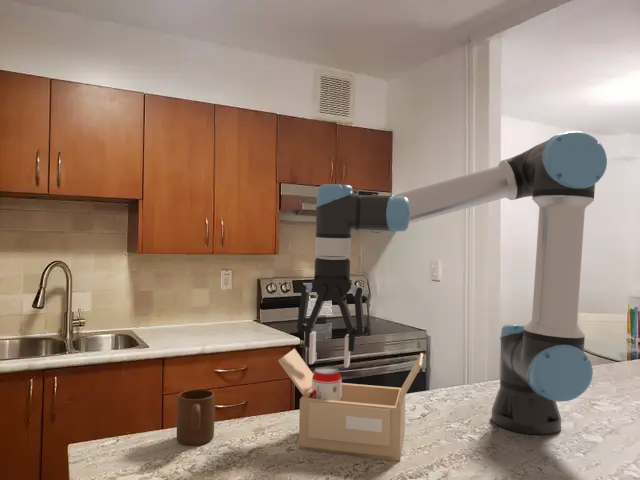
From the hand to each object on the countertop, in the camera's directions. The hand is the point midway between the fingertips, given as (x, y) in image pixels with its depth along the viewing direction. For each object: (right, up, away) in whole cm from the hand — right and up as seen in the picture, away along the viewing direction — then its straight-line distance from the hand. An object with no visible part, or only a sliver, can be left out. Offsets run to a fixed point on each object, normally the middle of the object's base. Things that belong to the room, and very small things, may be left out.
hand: (329, 363), depth 110 cm
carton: (+5, -15, -3) cm, 17 cm away
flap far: (-6, -1, 0) cm, 7 cm away
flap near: (+16, -1, -6) cm, 17 cm away
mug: (-27, -15, -6) cm, 32 cm away
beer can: (-1, -17, -3) cm, 17 cm away
